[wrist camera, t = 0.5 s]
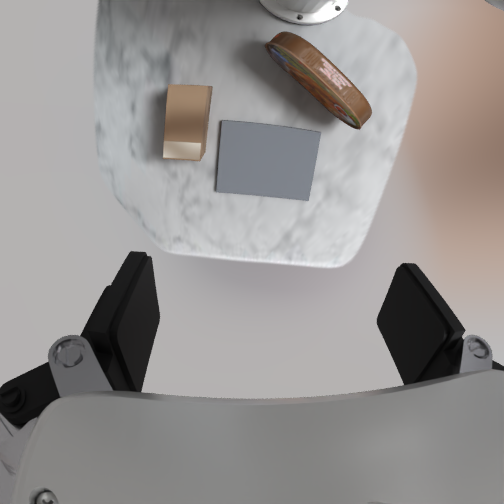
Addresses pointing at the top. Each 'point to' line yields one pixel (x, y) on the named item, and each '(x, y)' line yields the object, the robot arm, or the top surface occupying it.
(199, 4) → the top surface
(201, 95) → the card box
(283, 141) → the mat
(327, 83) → the tin
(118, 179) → the top surface
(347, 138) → the top surface
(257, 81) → the top surface
